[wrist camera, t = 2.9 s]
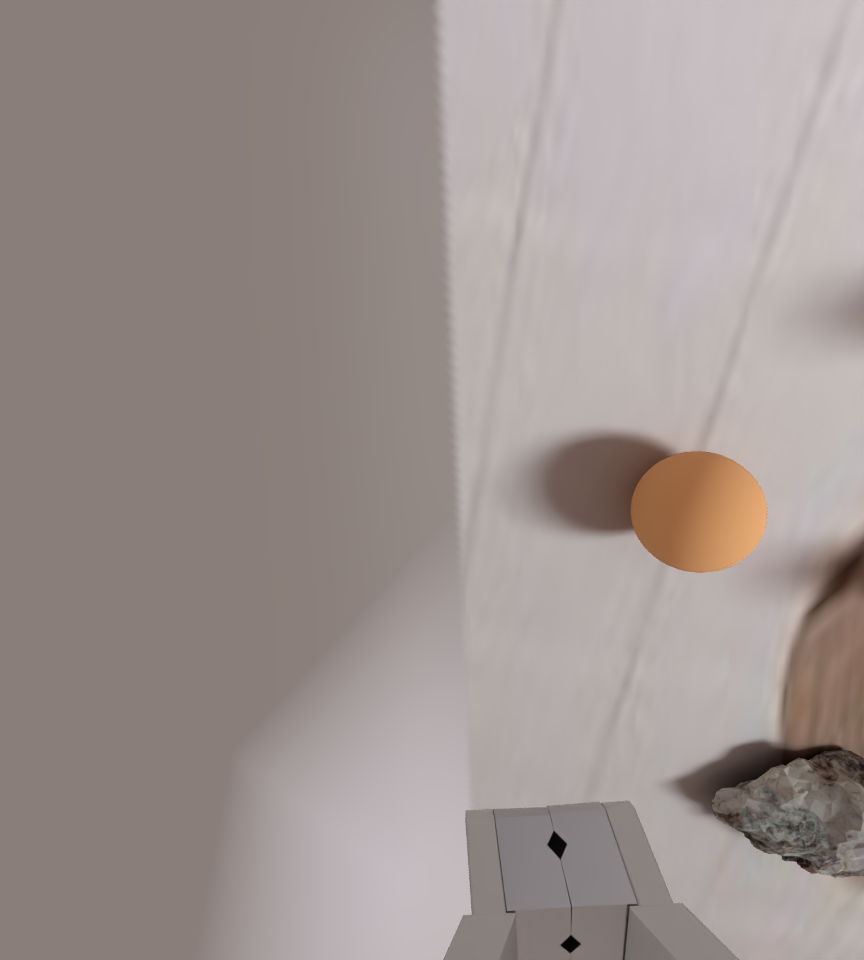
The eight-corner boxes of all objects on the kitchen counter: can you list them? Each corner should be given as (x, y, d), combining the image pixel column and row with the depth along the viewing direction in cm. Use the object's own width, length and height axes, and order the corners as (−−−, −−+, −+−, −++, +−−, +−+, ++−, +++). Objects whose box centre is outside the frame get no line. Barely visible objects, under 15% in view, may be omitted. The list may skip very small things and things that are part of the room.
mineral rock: (685, 798, 31) (725, 878, 26) (768, 706, 28) (827, 778, 24) (871, 865, 33) (935, 948, 29) (964, 785, 30) (1049, 863, 26)
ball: (716, 534, 24) (786, 592, 19) (611, 541, 24) (655, 601, 19) (729, 433, 22) (810, 470, 18) (616, 441, 22) (666, 480, 18)
